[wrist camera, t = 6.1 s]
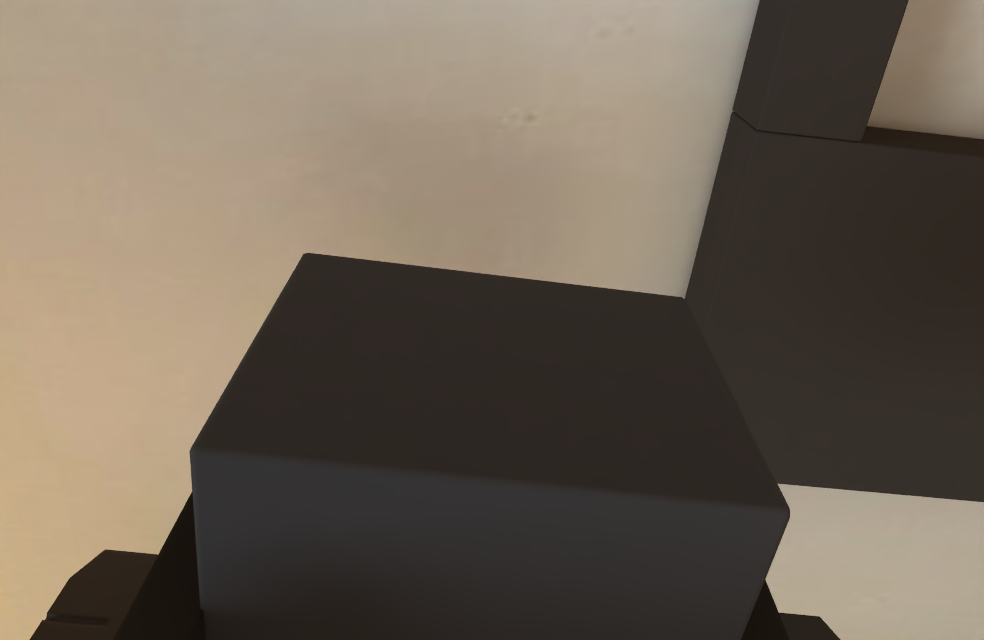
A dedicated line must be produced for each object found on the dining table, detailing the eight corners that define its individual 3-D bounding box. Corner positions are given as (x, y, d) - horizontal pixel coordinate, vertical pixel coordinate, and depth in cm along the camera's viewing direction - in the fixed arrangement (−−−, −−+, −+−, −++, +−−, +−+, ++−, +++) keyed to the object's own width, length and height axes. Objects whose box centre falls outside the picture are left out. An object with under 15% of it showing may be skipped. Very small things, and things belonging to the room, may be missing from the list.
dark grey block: (303, 250, 12) (185, 448, 7) (685, 295, 12) (796, 512, 8) (298, 580, 15) (214, 858, 11) (600, 609, 15) (643, 891, 11)
